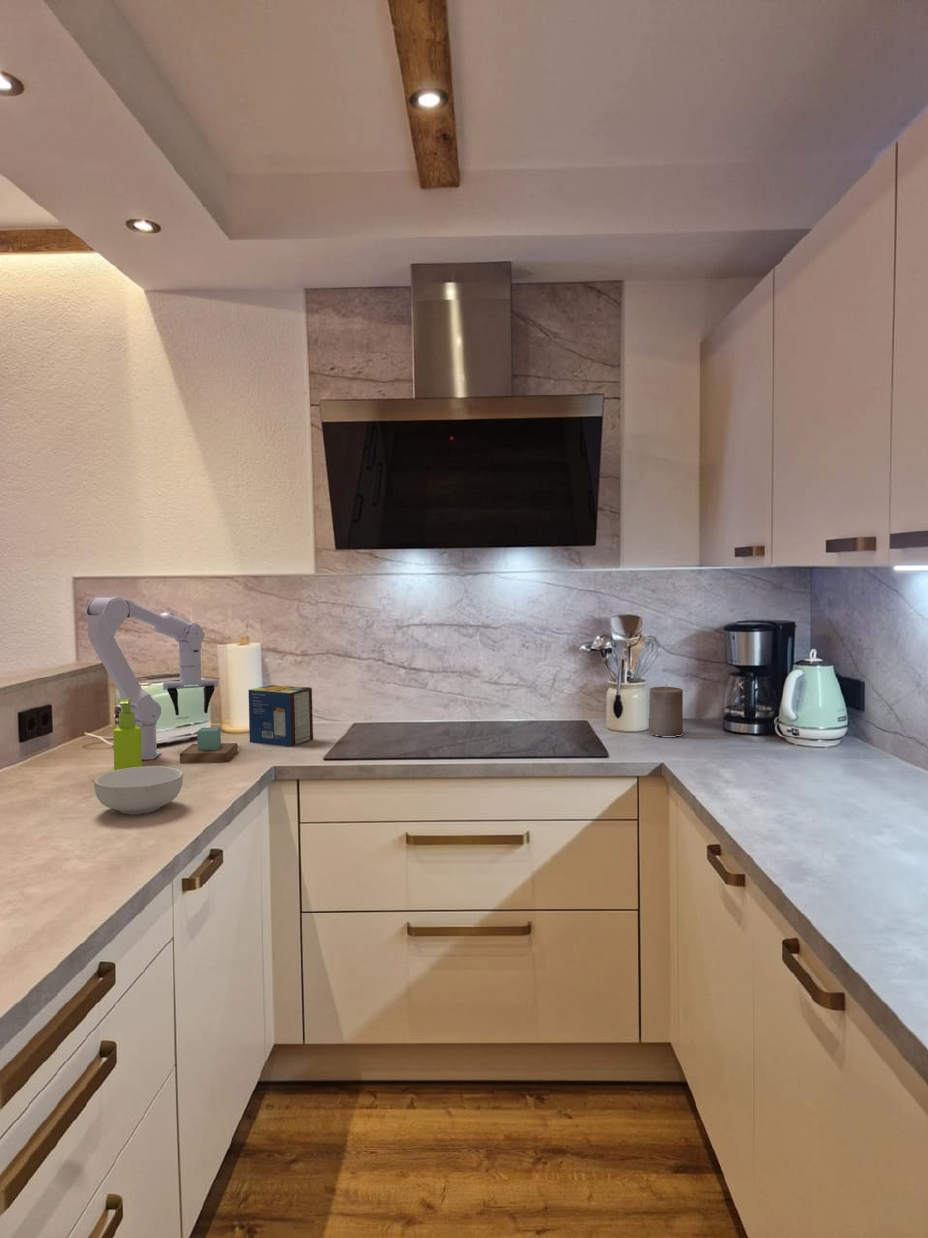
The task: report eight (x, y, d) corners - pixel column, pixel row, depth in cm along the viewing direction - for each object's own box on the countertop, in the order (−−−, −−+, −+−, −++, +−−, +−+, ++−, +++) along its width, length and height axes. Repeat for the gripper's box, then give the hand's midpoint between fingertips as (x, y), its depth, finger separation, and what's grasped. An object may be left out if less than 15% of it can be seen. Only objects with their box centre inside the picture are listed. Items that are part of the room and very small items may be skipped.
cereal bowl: (88, 825, 156) (87, 789, 155) (101, 801, 172) (100, 769, 171) (181, 816, 160) (180, 782, 160) (185, 795, 176) (184, 763, 176)
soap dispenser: (112, 789, 181) (109, 701, 180) (116, 782, 188) (114, 697, 187) (140, 787, 183) (137, 700, 182) (143, 780, 189) (141, 696, 188)
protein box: (272, 735, 241) (270, 684, 240) (313, 740, 234) (312, 687, 234) (248, 742, 232) (247, 689, 231) (291, 747, 225) (290, 692, 224)
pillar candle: (676, 731, 243) (676, 682, 242) (687, 737, 233) (687, 686, 232) (644, 732, 242) (644, 682, 241) (654, 738, 233) (654, 687, 232)
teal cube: (197, 750, 210) (197, 731, 210) (201, 746, 215) (201, 727, 215) (217, 749, 211) (216, 730, 211) (220, 745, 216) (220, 727, 216)
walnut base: (179, 765, 207) (179, 753, 207) (192, 754, 219) (192, 743, 219) (227, 764, 207) (226, 752, 207) (237, 753, 219) (237, 743, 219)
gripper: (163, 668, 218) (165, 717, 219) (219, 665, 224) (220, 713, 225) (161, 665, 225) (163, 713, 226) (215, 663, 231) (216, 710, 232)
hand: (191, 713), depth 226 cm, fingers open, 7 cm apart
